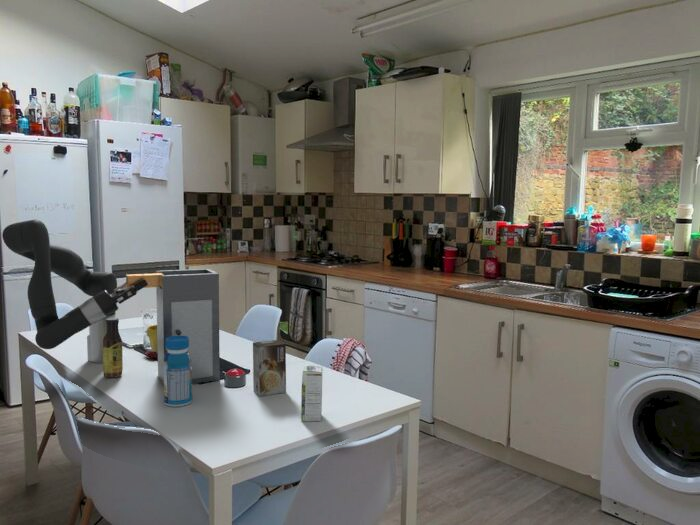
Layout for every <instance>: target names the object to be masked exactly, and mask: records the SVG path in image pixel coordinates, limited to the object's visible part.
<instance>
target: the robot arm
mask: <svg viewBox="0 0 700 525" xmlns="http://www.w3.org/2000/svg"><path fill="white" fill-rule="evenodd" d="M47 228H48V227H47V226H46V224H45V223H44V222H43V221H42V220H40V219H30V220H25V221H18V222H14V223H11V224H9V225H7V226H6V227H5V228H4V229H2V230H3V231H2V240H3V243H4V244H5V246H6V247H7V248H8V249H9V250H10V251H11V252H13V253H15V254H17V255H20V256H22V257H24V258H26V259H29V260H31V261H33V262H34V267H33V270H32V274H31V277H30V279H29V283H28V286H27V300H28V305H29V309H30V313H31V316H32V318H33V319H34V323H35V327H36V328H35V329H36V334H35V338H34V339H35V343H36V345H37V346H38V347H39V348H41V349H43V350H52V349H55V348H56V347H59V345H61V344H63V343H64V342H66V341H67V340H68V339H71V337H73V336H75V335H76V334H78V333H80V332H82V331H84V330H85V329H87V328H88V329H89V330H88V332H89V335H86V342H87V343H86V346H87V347H86V349H87V351H86V352H87V361H88V362H91V363H96V364H97V363H98V364H103V338H104V336H105V335H106V333H107V331H106V330H107V324H106V319H108V318H117V317H116V316H117V314H116V312H117V311H119V306H118V304H123V303H124V302H126V301H127V300H129V299H131V298H133V297H134V296H136V295H137V294H138V292H139V291H141V290H143V289H145V288H144V287H145V286H147V285H148V283H147V282H146V280H145V279H143V280H141V281H140V282H138V283H136V284H135V285H132V286H130V287H128V286H126V282H124V283H122V284H121V285H119V286H118V280H117V277H116V275H115V274H114V273H113V272H110V271H109V272H108V271H107V272H106V271H92V270H89V269H87V268H85V263H84V261H83V258H82V257H81V256H80V255H79V254H77V253H76V252H74V251H73V250H72V249H70V248H68V247H65V246H63V245H60V244H59V245H58V244H53V243H51V242H50V235H49V231H48V229H47ZM51 273H54V274H55V275H57V276H59V277H60V278H62V279H64V280H66V281H67V282H69V283H71V284H73V285H74V286H75V287H77V288H78V289H79V290H81V291H82V292H83V293H84V294H85V295H87V296H89V297H90V298H88V299H86V300H85V301H84V302H82V303H81V304H80V305H78V306H77V307H75V308H73V309H71V310H70V311H68V312H66V314H64V315H63V316H62V317H60V318H59V316H58V312H57V305H56V304H57V303H56V299H55V295H54V289H53V284H52V274H51Z"/></svg>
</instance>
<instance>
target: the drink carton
mask: <svg viewBox="0 0 700 525" xmlns="http://www.w3.org/2000/svg"><path fill="white" fill-rule="evenodd" d="M323 372H324V371H323V366H321V365H303V366H302V374H301V375H302V376H301V393H300V394H301V395H300V396H301V397H300V398H301V404H300V405H301V406H300V407H301V408H300V409H301V410H300V421H301V422H321V421H322V413H323V412H322V411H323V410H322V407H323V406H322V405H323Z"/></svg>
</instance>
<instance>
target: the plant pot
mask: <svg viewBox="0 0 700 525" xmlns="http://www.w3.org/2000/svg"><path fill="white" fill-rule="evenodd" d="M146 336H147V337H148V339H149V344H150V348H151V351H152V350H153V351H157V352H158V344H157V324H154V325H149V326H147V329H146Z"/></svg>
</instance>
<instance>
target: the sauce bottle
mask: <svg viewBox="0 0 700 525" xmlns="http://www.w3.org/2000/svg"><path fill="white" fill-rule="evenodd" d="M106 324H107V330H106V331H107V333H106V335H105V336H104V338H103V363H102V372H103V377H104V378H107V379H113V378H119V377H121V376H122V375H123V369H124V368H123V366H124V364H123V340H122V338H121V335H120V332H119V318H118V317H116V318H108V319H106Z"/></svg>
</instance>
